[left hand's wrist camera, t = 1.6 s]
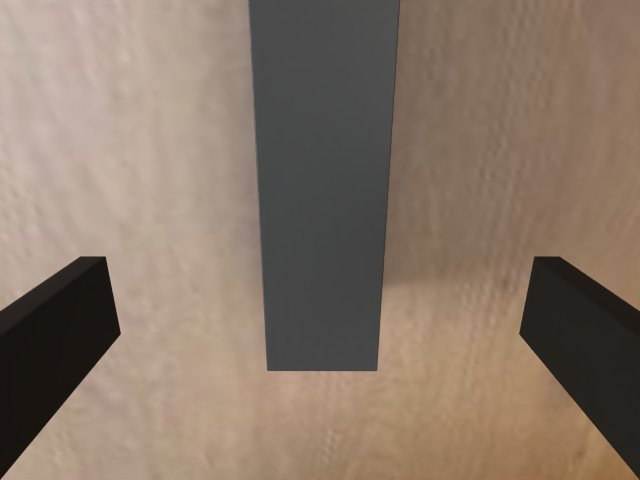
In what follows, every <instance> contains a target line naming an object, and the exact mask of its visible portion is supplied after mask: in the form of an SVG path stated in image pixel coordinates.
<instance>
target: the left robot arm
mask: <svg viewBox="0 0 640 480" xmlns="http://www.w3.org/2000/svg"><path fill="white" fill-rule="evenodd" d="M120 334H121V332H120V327H119V322H118V317H117V312H116V307H115V302H114V297H113V292H112V287H111V282H110V277H109V272H108V266H107V261H106V257H79V258H78V259H76V260H75V261H73V262H72V263H70V264H69V265H67V266H66V267H64V268H63V269H62V270H60V271H59V272H57V273H56V274H54V275H53V276H51V277H50V278H48V279H47V280H45V281H44V282H42V283H41V284H40V285H38V286H37V287H35V288H34V289H32V290H31V291H29V292H28V293H26V294H25V295H23V296H22V297H20V298H19V299H18V300H16V301H15V302H13V303H12V304H10V305H9V306H7V307H6V308H4V309H3V310H1V311H0V479H1V478H2V477H3V476H4V475H5V473H6V472H7V471H8V470H9V469H10V467H11V466H12V465H13V464H14V463H15V461H16V460H17V459H18V458H19V456H20V455H21V454H22V453H23V452H24V450H25V449H26V448H27V447H28V446H29V444H30V443H31V442H32V441H33V440H34V438H35V437H36V436H37V435H38V434H39V432H40V431H41V430H42V429H43V427H44V426H45V425H46V424H47V423H48V421H49V420H50V419H51V418H52V417H53V415H54V414H55V413H56V412H57V411H58V409H59V408H60V407H61V406H62V404H63V403H64V402H65V401H66V400H67V398H68V397H69V396H70V395H71V394H72V392H73V391H74V390H75V389H76V388H77V386H78V385H79V384H80V383H81V382H82V380H83V379H84V378H85V377H86V375H87V374H88V373H89V372H90V371H91V369H92V368H93V367H94V366H95V365H96V363H97V362H98V361H99V360H100V359H101V357H102V356H103V355H104V354H105V352H106V351H107V350H108V349H109V348H110V346H111V345H112V344H113V343H114V342H115V340H116V339H117V338H118V337H119V336H120ZM519 334H520V336H521V337H522V338H523V339H524V340H525V342H526V343H527V344H528V345H529V346H530V348H531V349H532V350H533V351H534V352H535V354H536V355H537V356H538V357H539V359H540V360H541V361H542V362H543V363H544V365H545V366H546V367H547V368H548V369H549V371H550V372H551V373H552V374H553V375H554V377H555V378H556V379H557V380H558V382H559V383H560V384H561V385H562V386H563V388H564V389H565V390H566V391H567V392H568V394H569V395H570V396H571V397H572V398H573V400H574V401H575V402H576V403H577V404H578V406H579V407H580V408H581V409H582V411H583V412H584V413H585V414H586V415H587V417H588V418H589V419H590V420H591V421H592V423H593V424H594V425H595V426H596V427H597V429H598V430H599V431H600V432H601V434H602V435H603V436H604V437H605V438H606V440H607V441H608V442H609V443H610V444H611V446H612V447H613V448H614V449H615V450H616V452H617V453H618V454H619V455H620V456H621V458H622V459H623V460H624V461H625V463H626V464H627V465H628V466H629V467H630V469H631V470H632V471H633V472H634V473H635V475H636V476H637V477H638V478H639V479H640V311H639V310H637V309H636V308H634V307H633V306H631V305H630V304H628V303H627V302H625V301H624V300H622V299H621V298H620V297H618V296H617V295H615V294H614V293H612V292H611V291H609V290H608V289H606V288H605V287H603V286H602V285H600V284H599V283H598V282H596V281H595V280H593V279H592V278H590V277H589V276H587V275H586V274H584V273H583V272H581V271H580V270H578V269H577V268H576V267H574V266H573V265H571V264H570V263H568V262H567V261H565V260H564V259H562V258H561V257H534V261H533V266H532V272H531V277H530V282H529V287H528V292H527V297H526V302H525V307H524V312H523V317H522V322H521V327H520V332H519Z"/></svg>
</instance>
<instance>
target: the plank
mask: <svg viewBox="0 0 640 480" xmlns="http://www.w3.org/2000/svg"><path fill="white" fill-rule="evenodd" d="M248 8H249V27H250V47H251V66H252V86H253V105H254V124H255V144H256V163H257V183H258V202H259V222H260V241H261V261H262V280H263V299H264V319H265V338H266V358H267V370H268V371H377V364H378V348H379V332H380V316H381V300H382V283H383V267H384V251H385V235H386V219H387V203H388V187H389V171H390V155H391V138H392V122H393V106H394V90H395V74H396V58H397V42H398V26H399V10H400V0H248Z"/></svg>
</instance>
